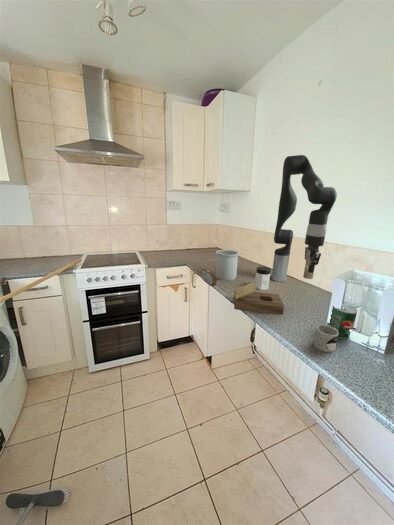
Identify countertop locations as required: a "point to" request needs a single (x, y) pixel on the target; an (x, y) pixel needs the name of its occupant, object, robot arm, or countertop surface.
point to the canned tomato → (342, 321)
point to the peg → (306, 273)
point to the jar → (262, 278)
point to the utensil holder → (226, 264)
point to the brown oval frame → (209, 277)
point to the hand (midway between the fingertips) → (309, 271)
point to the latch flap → (245, 291)
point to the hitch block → (260, 303)
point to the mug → (325, 338)
